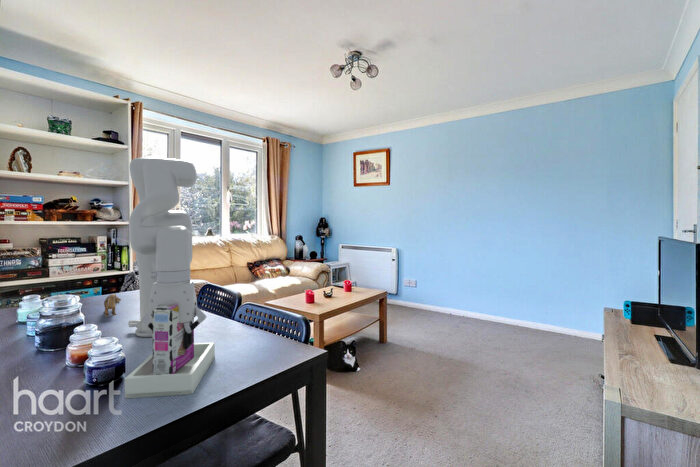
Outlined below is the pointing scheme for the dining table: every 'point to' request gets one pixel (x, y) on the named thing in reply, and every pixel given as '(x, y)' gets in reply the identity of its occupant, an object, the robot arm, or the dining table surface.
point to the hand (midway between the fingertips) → (175, 346)
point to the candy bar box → (169, 341)
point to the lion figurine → (111, 304)
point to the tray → (170, 376)
